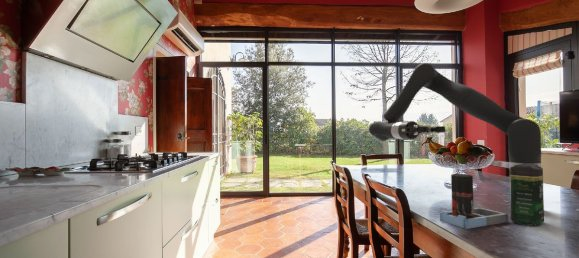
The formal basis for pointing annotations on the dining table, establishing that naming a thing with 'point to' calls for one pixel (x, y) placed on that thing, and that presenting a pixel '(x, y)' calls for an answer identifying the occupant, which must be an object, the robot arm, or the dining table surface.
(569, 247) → the dining table surface
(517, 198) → the coffee jar
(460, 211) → the deodorant
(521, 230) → the dining table surface
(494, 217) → the pale blue open frame
